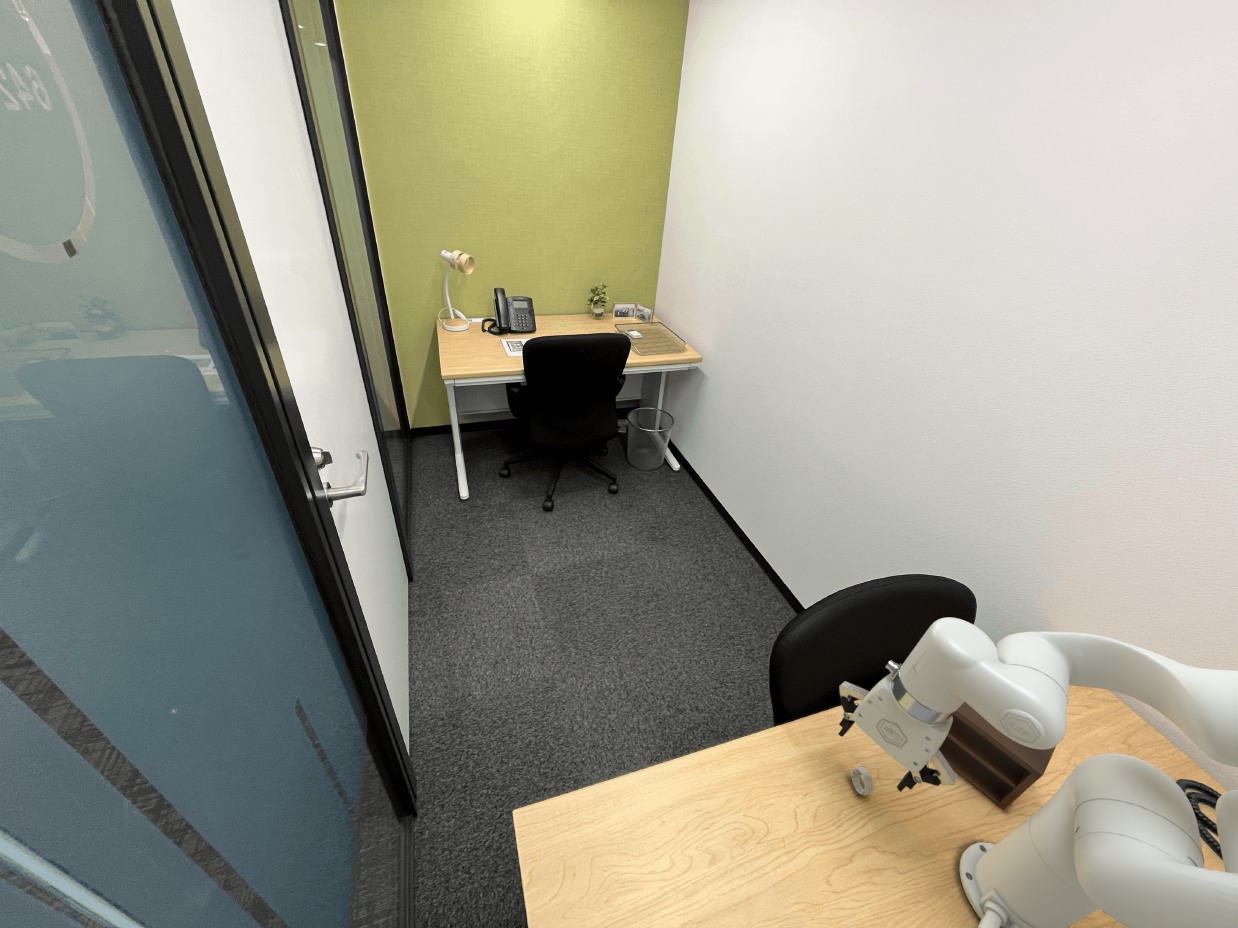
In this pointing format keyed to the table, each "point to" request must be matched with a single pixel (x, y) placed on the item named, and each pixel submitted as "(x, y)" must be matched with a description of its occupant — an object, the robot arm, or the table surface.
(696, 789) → the table surface
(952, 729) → the rack
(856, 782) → the grey ring
